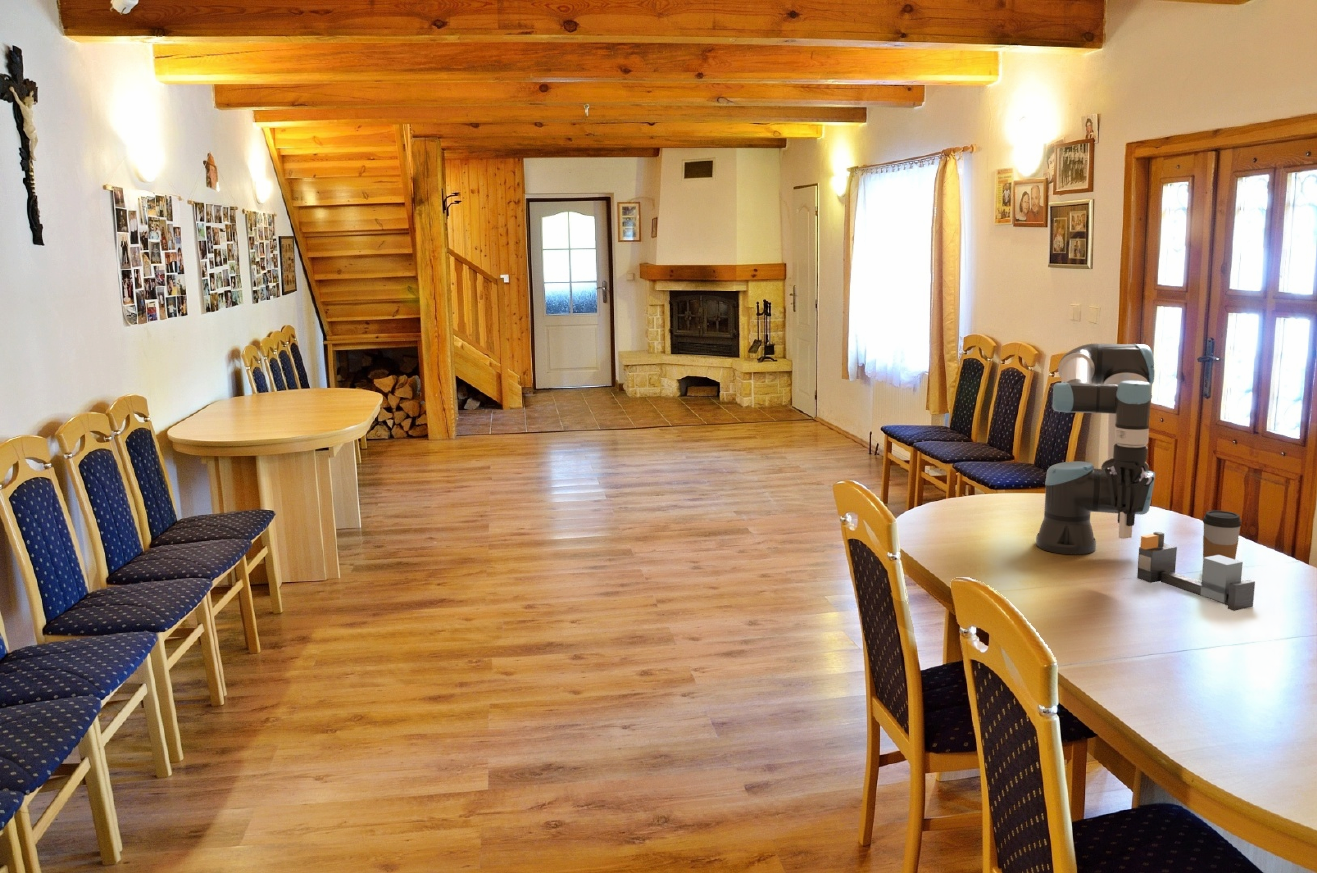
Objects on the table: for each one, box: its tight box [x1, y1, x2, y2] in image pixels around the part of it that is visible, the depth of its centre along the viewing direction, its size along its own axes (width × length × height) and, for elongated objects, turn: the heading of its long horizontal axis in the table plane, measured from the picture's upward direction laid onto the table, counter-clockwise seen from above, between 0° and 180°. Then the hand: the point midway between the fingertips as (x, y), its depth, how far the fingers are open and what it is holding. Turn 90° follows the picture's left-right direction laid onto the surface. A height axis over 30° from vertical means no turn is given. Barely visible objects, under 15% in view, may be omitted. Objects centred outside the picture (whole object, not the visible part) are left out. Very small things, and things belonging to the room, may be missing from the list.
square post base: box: [1227, 578, 1256, 612], centre depth 221 cm, size 2×6×6 cm, turn 112°
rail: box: [1160, 571, 1229, 606], centre depth 231 cm, size 19×2×2 cm, turn 22°
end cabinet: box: [1136, 542, 1178, 584], centre depth 242 cm, size 4×8×8 cm, turn 112°
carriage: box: [1201, 555, 1243, 604], centre depth 225 cm, size 6×5×9 cm
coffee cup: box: [1202, 510, 1242, 560], centre depth 244 cm, size 8×8×15 cm
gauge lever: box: [1139, 531, 1165, 550], centre depth 240 cm, size 2×6×3 cm, turn 112°
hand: (1124, 537), depth 245 cm, fingers closed
